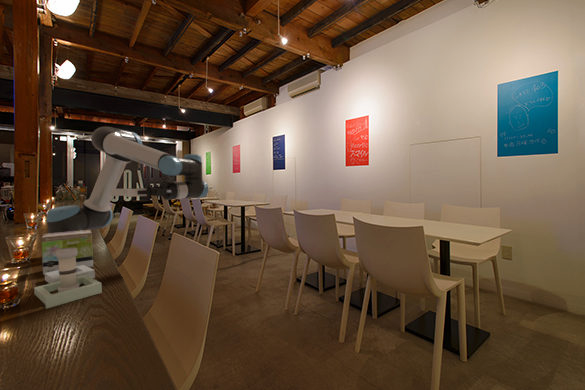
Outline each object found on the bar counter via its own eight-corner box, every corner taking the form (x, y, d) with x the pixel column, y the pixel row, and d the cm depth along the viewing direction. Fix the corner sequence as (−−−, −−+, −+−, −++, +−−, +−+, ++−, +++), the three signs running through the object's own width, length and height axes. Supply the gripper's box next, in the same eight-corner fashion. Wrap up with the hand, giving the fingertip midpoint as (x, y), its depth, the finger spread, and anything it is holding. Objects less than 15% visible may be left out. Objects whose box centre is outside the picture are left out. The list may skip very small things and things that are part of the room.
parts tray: (34, 297, 82) (34, 287, 82) (87, 283, 92) (86, 275, 92) (46, 308, 74) (45, 297, 74) (101, 292, 85) (101, 282, 84)
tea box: (42, 277, 100) (40, 237, 99) (44, 271, 107) (42, 233, 107) (94, 268, 109) (91, 231, 108) (92, 263, 117) (90, 228, 116)
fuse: (56, 293, 83) (53, 250, 82) (76, 287, 87) (74, 246, 86) (61, 296, 80) (58, 252, 79) (81, 291, 84) (79, 248, 83)
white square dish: (45, 283, 94) (44, 273, 94) (84, 274, 103) (83, 264, 102) (54, 290, 87) (53, 279, 87) (95, 279, 96) (94, 270, 96)
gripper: (191, 200, 110) (135, 204, 93) (159, 198, 125) (105, 202, 108) (190, 181, 109) (133, 181, 93) (158, 182, 124) (104, 182, 107)
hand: (118, 192), depth 100 cm, fingers open, 13 cm apart
